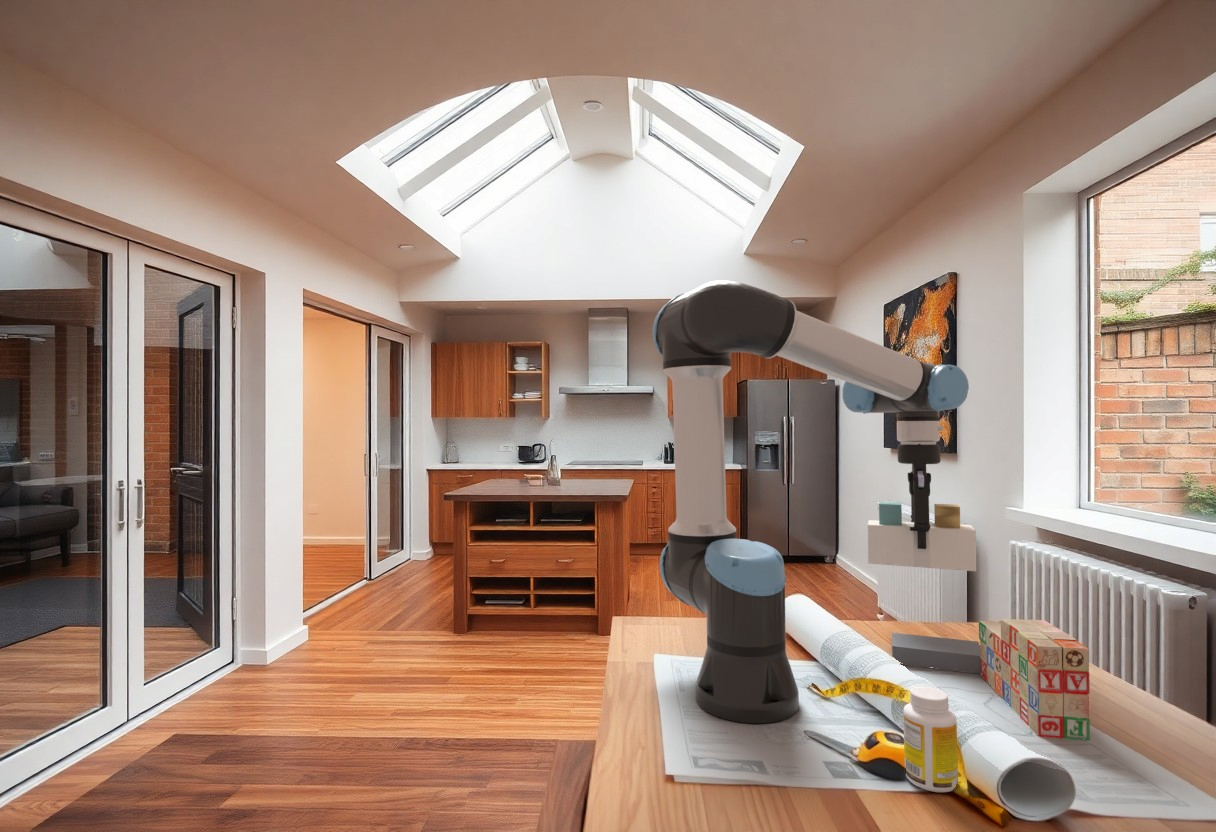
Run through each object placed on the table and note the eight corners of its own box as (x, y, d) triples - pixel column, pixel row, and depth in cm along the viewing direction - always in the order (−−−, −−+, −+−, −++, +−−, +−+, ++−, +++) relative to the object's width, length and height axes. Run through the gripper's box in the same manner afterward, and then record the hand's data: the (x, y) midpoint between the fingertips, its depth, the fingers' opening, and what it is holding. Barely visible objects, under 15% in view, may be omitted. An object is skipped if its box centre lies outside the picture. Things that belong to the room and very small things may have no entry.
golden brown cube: (936, 527, 122) (936, 506, 122) (934, 524, 126) (934, 503, 126) (960, 528, 121) (959, 507, 121) (957, 525, 124) (957, 504, 124)
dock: (892, 663, 112) (892, 646, 112) (891, 648, 119) (891, 632, 119) (985, 674, 107) (984, 656, 107) (978, 658, 114) (978, 641, 114)
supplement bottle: (961, 778, 75) (959, 690, 76) (954, 800, 71) (952, 707, 71) (909, 764, 79) (908, 679, 79) (899, 784, 74) (898, 695, 74)
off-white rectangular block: (868, 563, 125) (867, 524, 125) (868, 556, 132) (868, 520, 132) (976, 571, 118) (975, 530, 118) (971, 563, 125) (970, 525, 125)
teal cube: (879, 524, 126) (879, 503, 126) (879, 521, 130) (879, 501, 130) (901, 525, 124) (901, 504, 125) (901, 522, 128) (900, 502, 128)
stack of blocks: (979, 676, 106) (977, 601, 106) (1021, 679, 105) (1019, 603, 105) (1038, 738, 85) (1036, 644, 85) (1092, 742, 84) (1089, 647, 84)
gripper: (944, 444, 115) (947, 574, 114) (936, 442, 133) (938, 553, 133) (898, 444, 118) (900, 570, 117) (896, 442, 136) (898, 551, 136)
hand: (920, 561), depth 125 cm, fingers closed on off-white rectangular block, 7 cm apart
